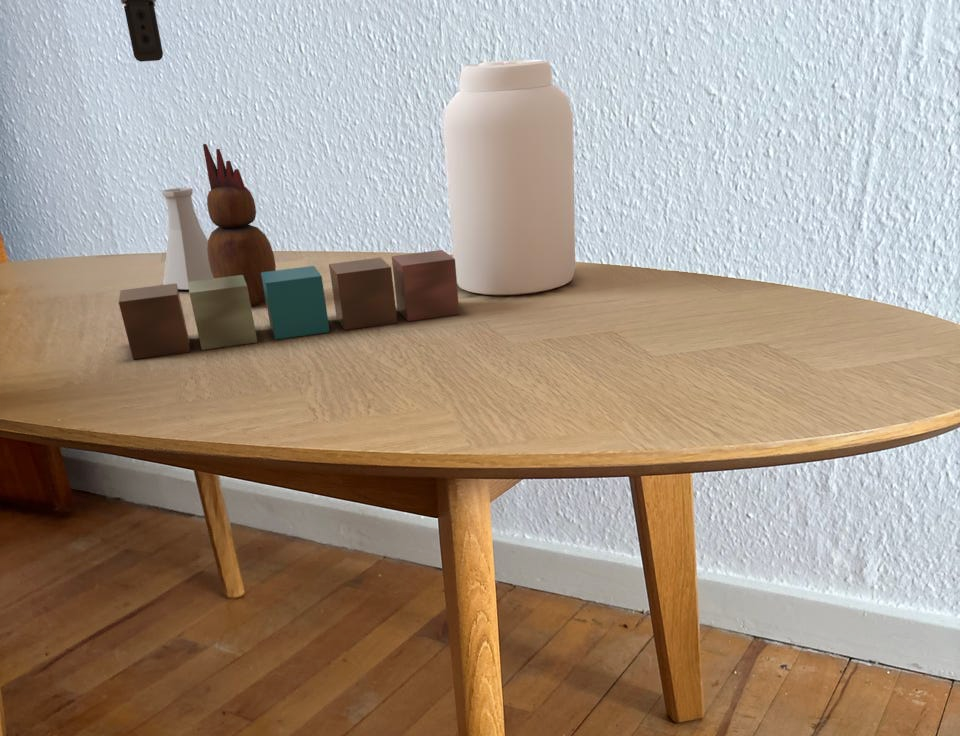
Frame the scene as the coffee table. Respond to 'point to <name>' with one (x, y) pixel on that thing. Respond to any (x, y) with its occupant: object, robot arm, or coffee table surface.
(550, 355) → the coffee table surface
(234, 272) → the wooden figurine
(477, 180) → the white jar
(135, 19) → the robot arm
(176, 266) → the flask
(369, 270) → the block row
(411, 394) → the coffee table surface
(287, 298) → the teal block
